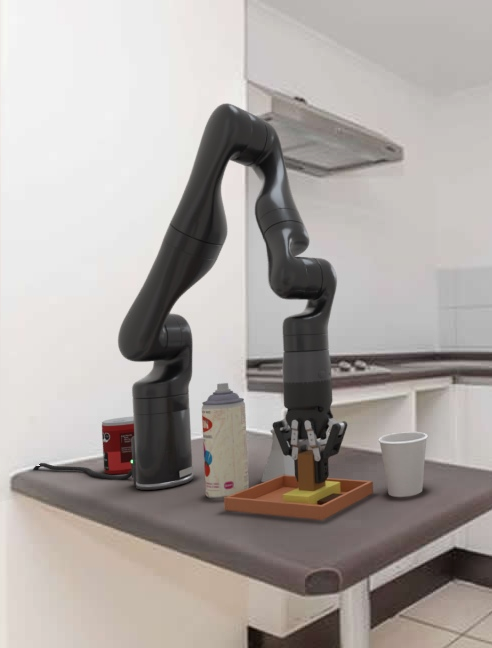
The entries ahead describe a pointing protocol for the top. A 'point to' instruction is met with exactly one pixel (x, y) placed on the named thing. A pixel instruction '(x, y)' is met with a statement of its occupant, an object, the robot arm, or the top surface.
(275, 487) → the orange tray
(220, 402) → the aerosol can
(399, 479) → the dixie cup
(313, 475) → the brush
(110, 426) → the canned food
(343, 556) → the top surface
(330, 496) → the block
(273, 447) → the flask
